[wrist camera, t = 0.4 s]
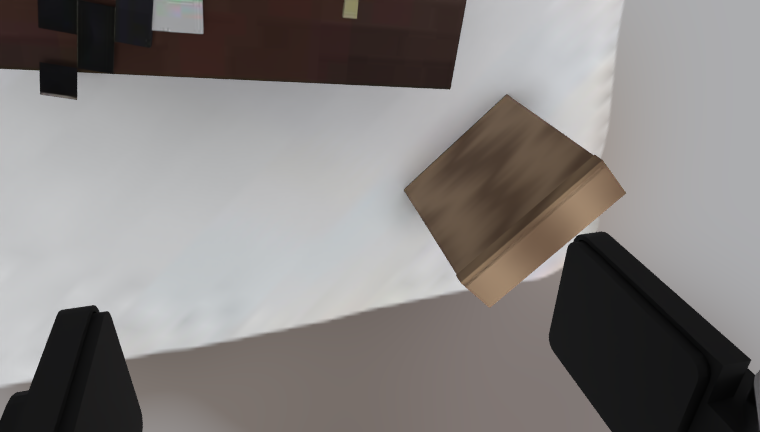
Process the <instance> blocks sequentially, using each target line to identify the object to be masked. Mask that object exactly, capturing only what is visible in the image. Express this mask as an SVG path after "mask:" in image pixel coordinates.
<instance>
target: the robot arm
mask: <svg viewBox="0 0 760 432" xmlns="http://www.w3.org/2000/svg"><path fill="white" fill-rule="evenodd" d="M549 342H550V346H551V348H552V350H553V351H554V353H555V354H556V356H557V357H558V358H559V360H560V361H561V363H562V364H563V365H564V367H565V368H566V370H567V371H568V372H569V374H570V375H571V376H572V378H573V379H574V380H575V381H576V383H577V385H578V386H579V387H580V389H581V390H582V391H583V393H584V394H585V396H586V397H587V398H588V399H589V401H590V402H591V404H592V405H593V407H594V408H595V409H596V411H597V412H598V413H599V415H600V416H601V418H602V419H603V420H604V422H605V423H606V425H607V426H608V427H609V429H610V430H611V431H612V432H760V370H759V372H758V373H757V374H756V375H754V374H753V373H752V372H751V371H750V370H749V369H748V365H749V364H750V361H751V359H750V358H748V357H747V356H746V355H745V354H744V353H743V352H742V351H740V350H739V349H738V348H737V347H736V346H734V344H733V343H731V342H730V341H729V340H728V339H727V338H726V337H725V336H723V335H722V334H721V333H720V332H719V331H718V330H717V329H716V328H714V327H713V326H712V325H711V324H710V323H709V322H708V321H706V320H705V319H704V318H703V317H702V316H701V315H700V314H699V313H697V312H696V311H695V310H694V309H693V308H692V307H691V306H689V305H688V304H687V303H686V302H685V301H684V300H683V299H681V298H680V297H679V296H678V295H677V294H676V293H675V292H674V291H672V290H671V289H670V288H669V287H668V286H667V285H666V284H665V283H663V282H662V281H661V280H660V279H659V278H658V277H657V276H655V275H654V274H653V273H652V272H651V271H650V270H649V269H647V268H646V267H645V266H644V265H643V264H642V263H641V262H640V261H638V260H637V259H636V258H635V257H634V256H633V255H632V254H630V253H629V252H628V251H627V250H626V249H625V248H624V247H622V246H621V245H620V244H619V243H618V242H617V241H616V240H615V239H613V238H612V237H611V236H610V235H609V234H607V233H606V232H595V233H589V234H582V235H578V236H577V237H576V238H575V239H574V242H573V243H570V244H569V246H568V248H567V253H566V257H565V262H564V267H563V271H562V276H561V281H560V285H559V290H558V295H557V300H556V304H555V309H554V314H553V318H552V323H551V328H550V332H549ZM142 425H143V422H142V414H141V409H140V406H139V403H138V400H137V396H136V393H135V390H134V387H133V384H132V381H131V377H130V374H129V371H128V368H127V365H126V362H125V358H124V355H123V352H122V349H121V346H120V343H119V339H118V336H117V333H116V330H115V327H114V324H113V320H112V317H111V315H110V313H109V312H107V311H106V312H99V310H98V308H97V307H96V306H94V305H92V306H85V307H79V308H72V309H65V310H61V311H59V312H58V314H57V316H56V319H55V322H54V324H53V327H52V330H51V333H50V335H49V338H48V341H47V343H46V346H45V349H44V351H43V354H42V357H41V359H40V362H39V365H38V367H37V370H36V373H35V375H34V378H33V381H32V383H31V386H30V389H29V390H28V391H22V392H17V393H15V394H14V395H13V396H11V398H10V400H9V401H8V403H7V405H6V407H5V410H4V413H3V415H2V418H1V420H0V432H142V428H143V426H142Z"/></svg>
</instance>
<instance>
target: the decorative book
mask: <svg viewBox="0 0 760 432" xmlns="http://www.w3.org/2000/svg"><path fill="white" fill-rule="evenodd" d="M465 6H466V0H0V69H20V70H40V94H41V95H48V96H54V97H61V98H68V99H75V100H77V72H85V73H107V74H129V75H150V76H172V77H194V78H215V79H237V80H259V81H281V82H302V83H324V84H346V85H367V86H389V87H411V88H433V89H450V88H451V82H452V77H453V71H454V66H455V60H456V55H457V49H458V44H459V39H460V33H461V28H462V22H463V17H464V11H465Z"/></svg>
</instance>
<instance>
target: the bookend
mask: <svg viewBox="0 0 760 432" xmlns="http://www.w3.org/2000/svg"><path fill="white" fill-rule="evenodd" d="M404 191H405V193H406V194H407V196H408V197H409V199H410V201H411V202H412V204H413V205H414V207H415V209H416V210H417V212H418V213H419V215H420V217H421V218H422V220H423V221H424V223H425V225H426V226H427V228H428V229H429V231H430V233H431V234H432V236H433V237H434V239H435V241H436V242H437V244H438V245H439V247H440V248H441V250H442V252H443V253H444V255H445V256H446V258H447V260H448V261H449V263H450V264H451V266H452V268H453V269H454V271H455V272H456V274H457V275H456V276H457V278H458V279H459V281H460V282H461V283H462V284H463V285H464V286H465V287H466V288H467V289H468V290H470V291H471V292H472V293H473V294H474V295H475V296H477V297H478V298H479V299H480V300H481V301H482V302H483V303H485V304H486V305H487V306H488V307H491V306H493V305H494V304H495V303H496V302H497V301H498V300H500V299H501V298H502V297H503V296H504V295H506V294H507V293H508V292H509V291H510V290H512V289H513V288H514V287H515V286H516V285H518V284H519V283H520V282H521V281H522V280H524V279H525V278H526V277H527V276H528V275H529V274H531V273H532V272H533V271H534V270H535V269H537V268H538V267H539V266H540V265H541V264H543V263H544V262H545V261H546V260H547V259H548V258H550V257H551V256H552V255H553V254H554V253H556V252H557V251H558V250H559V249H560V248H562V247H563V246H564V245H565V244H566V243H567V242H569V241H570V240H571V239H572V238H573V237H575V236H576V235H577V234H578V233H579V232H581V231H582V230H583V229H584V228H585V227H586V226H588V225H589V224H590V223H591V222H592V221H594V220H595V219H596V218H597V217H598V216H600V215H601V214H602V213H603V212H604V211H606V210H607V209H608V208H609V207H610V206H611V205H613V204H614V203H615V202H616V201H617V200H619V199H620V198H621V197H622V196H623V195H625V194H626V192H625V191H624V190H623V188H622V187H621V185H620V184H619V183H618V181H617V180H616V178H615V177H614V175H613V174H612V173H611V171H610V170H609V168H608V167H607V166H606V164H605V163H604V161H603V160H602V159H600V158H599V157H597V156H596V155H592V154H591V153H589V152H588V151H587V150H585V149H584V148H582V147H581V146H580V145H578V144H577V143H575V142H574V141H572V140H571V139H570V138H568V137H567V136H565V135H564V134H562V133H561V132H560V131H558V130H557V129H555V128H554V127H553V126H551V125H550V124H548V123H547V122H545V121H544V120H543V119H541V118H540V117H538V116H537V115H535V114H534V113H533V112H531V111H530V110H528V109H527V108H526V107H524V106H523V105H521V104H520V103H518V102H517V101H516V100H514V99H513V98H511V97H510V96H508V95H506V96H505V97H504V98H502V99H501V100H500V101H499V102H498V103H497V104H496V105H495V106H494V107H493V108H492V109H491V110H489V111H488V112H487V113H486V114H485V115H484V116H483V117H482V118H481V119H480V120H479V121H478V122H477V123H475V124H474V125H473V126H472V127H471V128H470V129H469V130H468V131H467V132H466V133H465V134H464V135H462V136H461V137H460V138H459V139H458V140H457V141H456V142H455V143H454V144H453V145H452V146H451V147H450V148H448V149H447V150H446V151H445V152H444V153H443V154H442V155H441V156H440V157H439V158H438V159H437V160H436V161H434V162H433V163H432V164H431V165H430V166H429V167H428V168H427V169H426V170H425V171H424V172H423V173H421V174H420V175H419V176H418V177H417V178H416V179H415V180H414V181H413V182H412V183H411V184H410V185H409V186H407V187H406V188H405V189H404Z"/></svg>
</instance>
